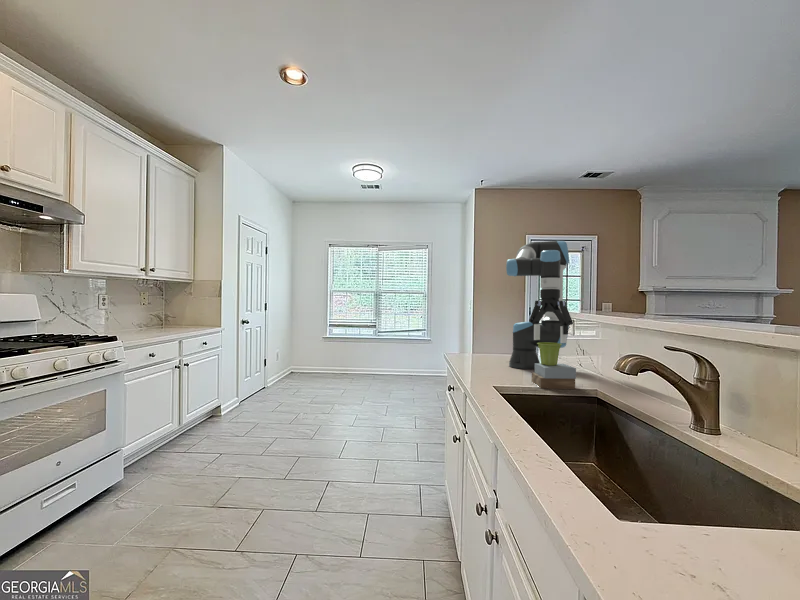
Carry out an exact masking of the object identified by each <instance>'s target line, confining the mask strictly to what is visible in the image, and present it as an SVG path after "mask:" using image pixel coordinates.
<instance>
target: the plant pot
mask: <svg viewBox="0 0 800 600" xmlns="http://www.w3.org/2000/svg"><path fill="white" fill-rule="evenodd" d="M537 344H538V347H537V348H538V350H539V357H540V363H541V364H542V365H548V366H549V365H551V366H554V365H557V364H558V361H559V356H560V355H559V354H560V350H561V348H560V347H561V345H562V344H560V343H550V342H539V343H537Z"/></svg>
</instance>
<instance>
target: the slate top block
mask: <svg viewBox="0 0 800 600" xmlns="http://www.w3.org/2000/svg"><path fill="white" fill-rule="evenodd" d="M534 372H535V373H536V374H537V375H539V376H541V377H543V378H560V379H575V380H576V379H577V367H574V366H571V365H569V364H566V363H557V365H554V366H551V365H549V366H548V365H542V364H541V362H540V363H535V369H534Z"/></svg>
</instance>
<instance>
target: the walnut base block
mask: <svg viewBox="0 0 800 600" xmlns="http://www.w3.org/2000/svg"><path fill="white" fill-rule="evenodd" d="M532 382H533V384H534V383H535V384H537V385H538V386H539V387H538V386H537V385H536V386H537V387H538V388H540V389H546V390H547V389H549V390H550V389H553V390H554V389H558V390H565V389H566V390H576V379H560V378H543V377H541V376H539V375H537V374H536V373H535V371H534V372H531V383H532ZM535 384H534V385H535Z"/></svg>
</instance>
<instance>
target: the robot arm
mask: <svg viewBox="0 0 800 600" xmlns="http://www.w3.org/2000/svg"><path fill="white" fill-rule="evenodd" d="M569 255H570V254H569V247H568V243H567V242H566V241H565V240H547V241H534V242H529V243H527V244H523V246H521V247H520V248H518V250H517V252H516V257H515V258H510V259H507V260H506V264H505V265H506V266H505V267H506V271H505V272H506V275H507V276H509V277H525V276H526V277H529V276H530V277H532V276H533V277H538V276H539V277H540V282H539V283H540V285H539V287H540V288H541V289H540V292H539V295H540V296H539V297H540V299H541V300H535V302H534V307H533V309H532V311H531V314H530V317H529V319H528V321H522V322H516V323H514V324H513V327H512V353H511V356H510V359H509V362H508V367H510V368H514V369H522V370H535V363H541V361H540V359H539V356H538V353H537V348H539V347H538V344H537V343H539V342H550V343H560V344H562V345H561V347H560V349H562V348H565V347H567V343H568V336H569V328H570V326H571V325H573V324H574V322H573V319H572V316H571V315H570V312H569V310H568V306H567V302H566V300H564V270H565V269H566V268H567V265H569V264H570V257H569ZM540 322H541V323H540Z"/></svg>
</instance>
